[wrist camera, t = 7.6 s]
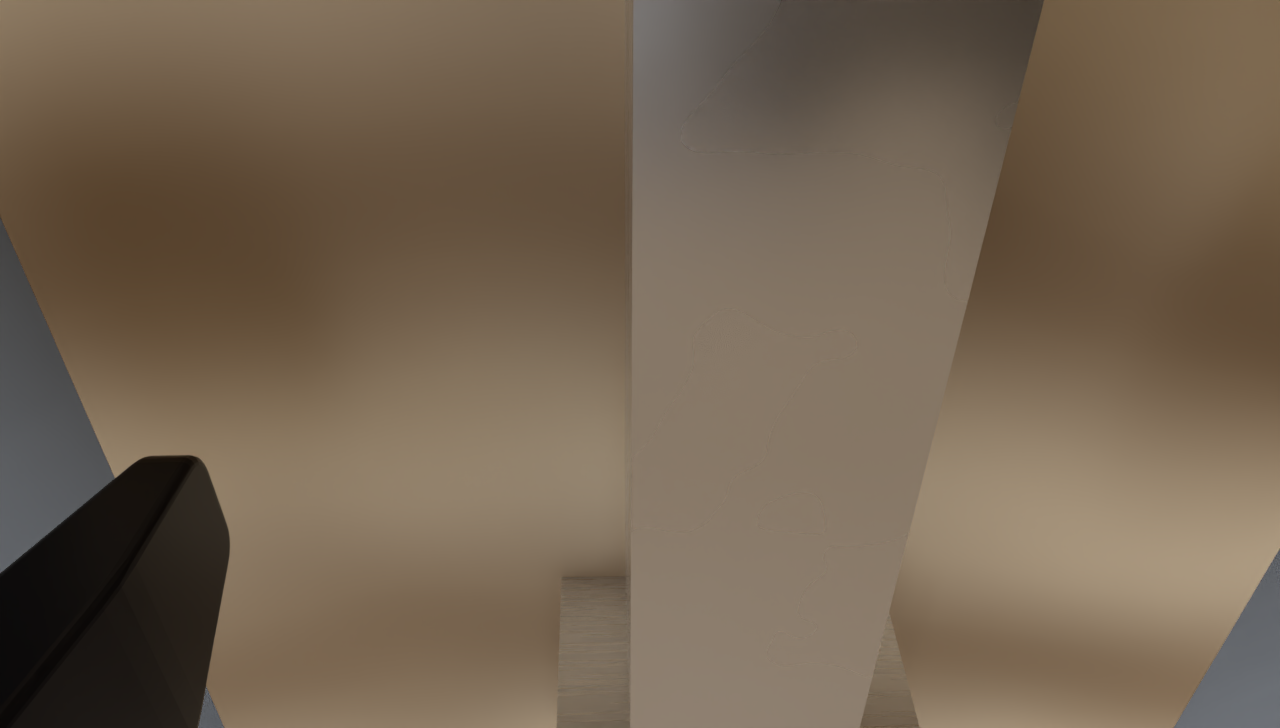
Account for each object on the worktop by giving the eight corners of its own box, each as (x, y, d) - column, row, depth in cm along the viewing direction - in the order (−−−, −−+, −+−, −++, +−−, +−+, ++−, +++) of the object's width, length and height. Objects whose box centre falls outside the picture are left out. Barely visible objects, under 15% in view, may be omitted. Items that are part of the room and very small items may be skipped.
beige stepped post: (845, 713, 15) (881, 888, 13) (570, 719, 15) (566, 898, 13) (1243, -987, 5) (1601, -1263, 3) (463, -1010, 5) (390, -1303, 3)
